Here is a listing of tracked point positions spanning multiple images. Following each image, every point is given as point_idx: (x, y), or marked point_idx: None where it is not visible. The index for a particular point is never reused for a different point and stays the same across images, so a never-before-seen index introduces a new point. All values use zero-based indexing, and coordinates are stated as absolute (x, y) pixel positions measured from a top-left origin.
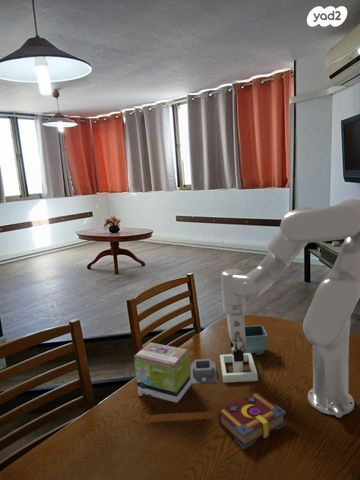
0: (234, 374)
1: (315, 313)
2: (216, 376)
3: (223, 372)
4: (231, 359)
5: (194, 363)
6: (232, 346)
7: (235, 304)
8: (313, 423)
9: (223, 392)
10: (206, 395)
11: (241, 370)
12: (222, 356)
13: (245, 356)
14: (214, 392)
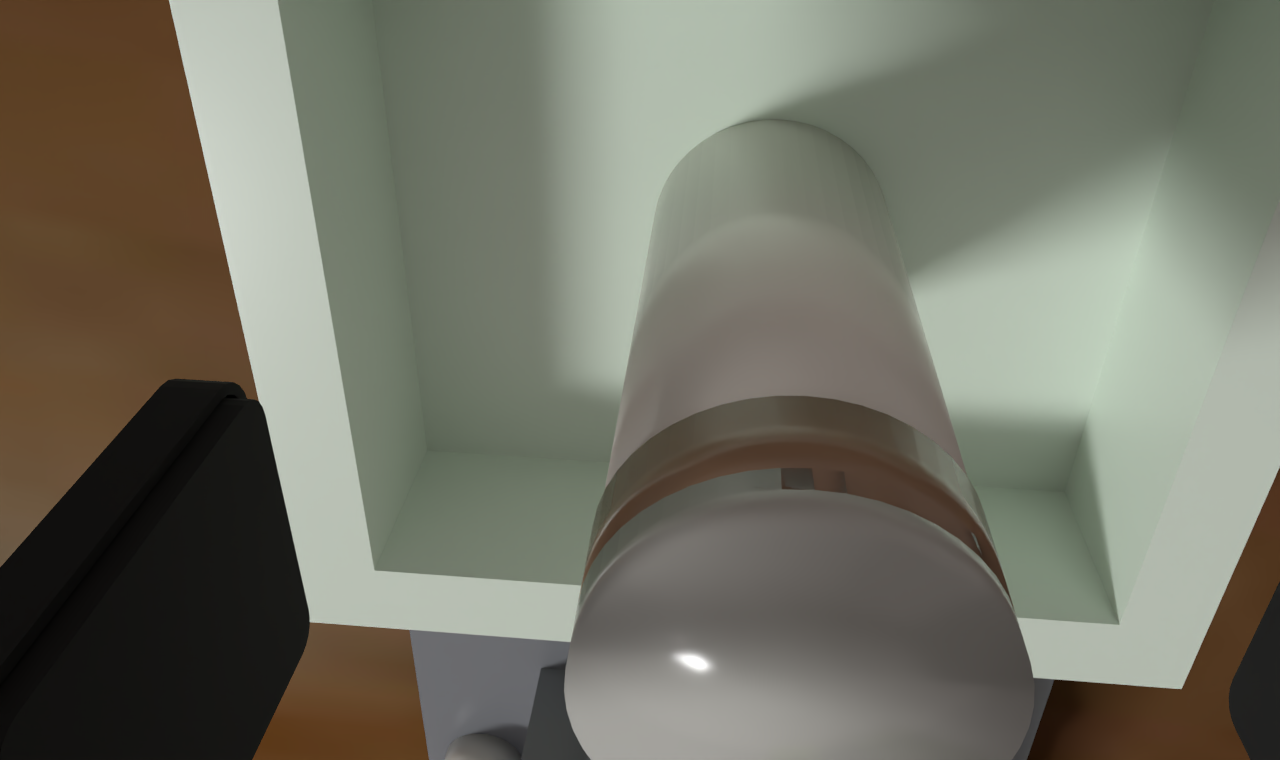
0: (1248, 487)
1: None
2: None
3: (1059, 664)
4: (378, 358)
5: None
6: (300, 618)
7: None
8: None
9: (1268, 539)
10: (1228, 742)
11: (885, 207)
12: (380, 588)
13: (300, 11)
14: (1203, 649)
